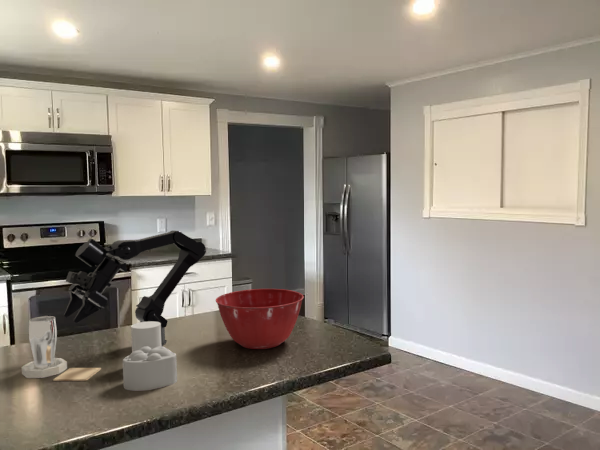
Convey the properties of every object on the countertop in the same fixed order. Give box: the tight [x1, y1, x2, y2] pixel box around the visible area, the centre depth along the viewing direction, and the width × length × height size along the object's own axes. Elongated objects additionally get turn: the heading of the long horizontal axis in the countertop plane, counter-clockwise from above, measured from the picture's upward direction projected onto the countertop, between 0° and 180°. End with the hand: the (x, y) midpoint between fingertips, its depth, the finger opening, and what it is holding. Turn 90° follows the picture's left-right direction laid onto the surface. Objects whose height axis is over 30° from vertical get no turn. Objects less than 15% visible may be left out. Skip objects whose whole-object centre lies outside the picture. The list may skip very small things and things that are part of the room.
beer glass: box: [28, 315, 58, 369], centre depth 144 cm, size 7×7×15 cm
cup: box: [130, 321, 162, 353], centre depth 147 cm, size 8×8×12 cm
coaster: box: [52, 367, 102, 382], centre depth 141 cm, size 9×9×1 cm
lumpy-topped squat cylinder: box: [122, 345, 178, 392], centre depth 134 cm, size 10×13×9 cm
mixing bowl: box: [215, 288, 305, 350], centre depth 167 cm, size 28×28×15 cm
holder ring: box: [21, 357, 68, 379], centre depth 144 cm, size 11×11×2 cm
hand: (69, 319), depth 151 cm, fingers open, 9 cm apart
